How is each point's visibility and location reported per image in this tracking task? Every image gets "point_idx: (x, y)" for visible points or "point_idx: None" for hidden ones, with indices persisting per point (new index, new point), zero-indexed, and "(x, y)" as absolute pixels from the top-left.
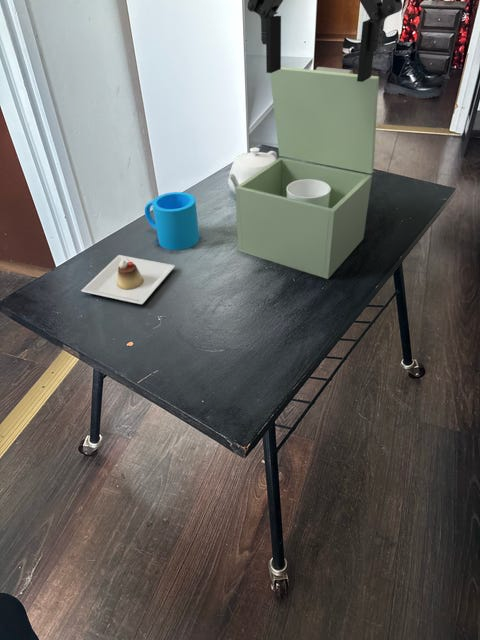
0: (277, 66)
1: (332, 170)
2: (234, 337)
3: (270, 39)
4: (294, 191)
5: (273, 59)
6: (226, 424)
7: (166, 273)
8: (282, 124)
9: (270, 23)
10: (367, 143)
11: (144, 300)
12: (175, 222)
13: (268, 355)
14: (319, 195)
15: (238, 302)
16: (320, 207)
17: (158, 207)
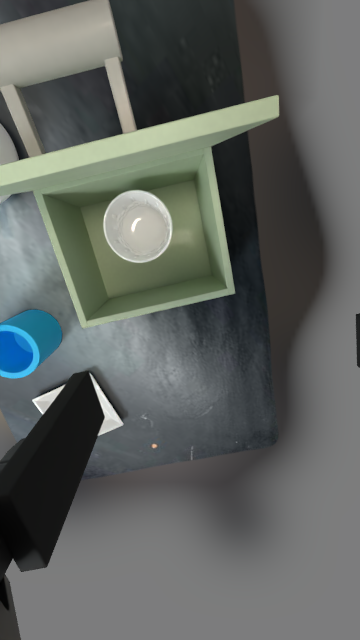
0: (91, 392)
1: (142, 169)
2: (207, 392)
3: (76, 490)
4: (110, 225)
5: (92, 427)
6: (261, 443)
7: (97, 386)
8: (14, 192)
9: (52, 545)
10: (212, 143)
11: (120, 420)
12: (43, 360)
13: (242, 388)
14: (138, 197)
15: (176, 362)
16: (214, 296)
17: (13, 374)
